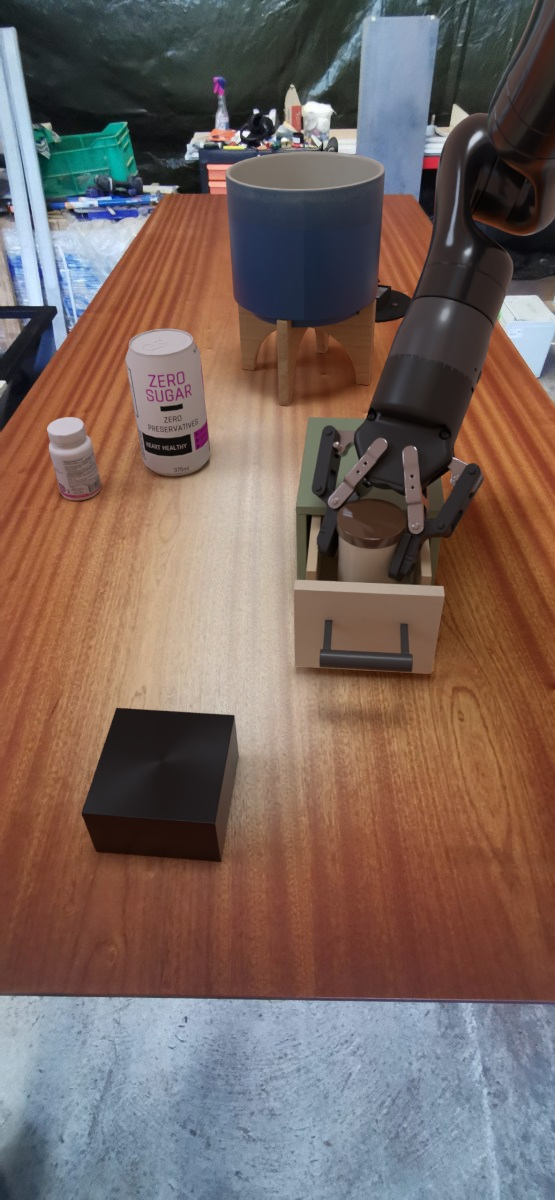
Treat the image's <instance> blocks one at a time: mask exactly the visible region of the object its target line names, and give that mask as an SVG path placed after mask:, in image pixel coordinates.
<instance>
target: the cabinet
mask: <svg viewBox="0 0 555 1200" xmlns="http://www.w3.org/2000/svg"><path fill="white" fill-rule="evenodd" d="M365 419H366V418H364V417H363V418H362V417H361V418H359V417H358V418H357V417H323V416H321V417H318V416H316V417H315V416H308V417H307V424H306V432H305V440H304V444H303V445H304V446H303V453H302V459H301V460H302V461H301V468H300V474H299V480H298V481H299V483H298V488H297V496H296V502H295V503H296V504H295V532H296V534H295V537H296V538H295V539H296V541H295V543H296V545H295V546H296V548H295V549H296V580H306V568H307V559H308V550H309V541H310V532H311V522H312V515H325V514H326V511H327V506H326V504H325V502H324V501H322V500H321V499H320V498H319V497H317V496H316V495H315V494H313V492H312V483H313V477H314V472H315V467H316V462H317V456H318V451H319V446H320V440H321V435H322V430H323V429H324V427H326V426H328V425H332V426H333V427H334V428H335V429H336V430H342V431H356V430H357V428H358V427H359V426H361V425H362V423H363V422H364V421H365ZM358 461H359V460H358V456H357V452H356V449H355V445H354V446H352V447H351V448H350V449H349V451H348V453H347V455H346V456H344V457H341V461H340V467H339V472H338V477H337V483H336V488H335V490H336V489H337V488H338V487H339V486H340V485H341V484H342V483H343V481H344V477H345V476H346V474H347V473H348V472H349V471H350V470H351V469H352V468H353V467H354V465H355V464H356V463H357V462H358ZM428 494H429V519H436V517H437V515H438V514H439V512H440V510H441V508H442V507H443V505H444V503H445V497H444V488H443V479H442V476H441V477H440V478H439V479H437V480H436V481H434V482H433V483H432V484H430V485H429V486H428ZM366 498H374V499H382V500H386V501H389V502H391V503H394V504H396V505H397V506H399V507H400V508H401V509H402V510H403V511H404V513H405V514H406V517H407V518H408V509H407V504H406V498H405V496H403V495H400V494H398V493H397V492H395V491H393V490H382V489H379V488H376V487H374V488H373V489H372V490H371V491H370V492H369V493H368V494H367V495H366V496H364V497H362V498H361V499H366ZM441 542H442V538H441V537H438V538H429V549H430V561H431V572H432V579H431V585H430V586H435V581H436V575H437V568H438V562H439V557H440V556H439V555H440V549H441Z"/></svg>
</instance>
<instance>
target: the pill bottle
mask: <svg viewBox="0 0 555 1200" xmlns="http://www.w3.org/2000/svg"><path fill="white" fill-rule="evenodd" d="M46 431H47V436H48V439H49V444H48V452H49V456H50V459H51V464H52V466H53V470H54V473H55V477H56V481H57V484H58V489H59V492H60V494H61V495H62V497H63V498H64V499H67V500H69V501H85V500H90V499H92V498H94V497H95V496H97V495H98V494H99V493H100V492H101V489H102V481H101V476H100V473H99V469H98V464H97V459H96V455H95V450H94V445H93V442H92V439H91V438H90V437H89V435H87V431H86V427H85V423H84V421H83V420H82V419H81V418H79V417H73V416H65V417H61V418H57V419H55V420H53V421H51V422H50V423H48V425H47V427H46Z"/></svg>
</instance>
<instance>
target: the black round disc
mask: <svg viewBox="0 0 555 1200" xmlns="http://www.w3.org/2000/svg"><path fill="white" fill-rule="evenodd" d="M380 282H381V280H380V278H378V291H377V296H376V298H375V299H376V312H375V323H385V322H391V321H394V320H399V319H403V318H404V316H405V314H406V312H407V310H408V308H409V305H410V303H411V300H412V297H411V296H409V295H408V294H406V293H404V292H401V291H399V290H395V289H392V285H387V284H386V285H385V284H380Z"/></svg>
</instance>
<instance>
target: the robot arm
mask: <svg viewBox="0 0 555 1200" xmlns="http://www.w3.org/2000/svg"><path fill="white" fill-rule="evenodd" d="M438 159H439V160H438V163H437V169H436V177H435V189H434V190H435V191H434V192H435V193H434V206H433V207H434V208H433V222H432V228H431V229H432V230H431V236H430V241H429V244H428V245H429V246H428V250H427V255H426V257H425V261H424V264H423V267H422V270H421V273H420V274H419V275H420V276H419V278H418V281H417V284H416V286H415V289H414V292H413V294H412V297H411V299H412V300H411V303H410V305H409V308H408V310H407V312H406V314H405V316H404V317H402V320H401V322H400V323H399V325H398V328H397V330H396V332H395V335H394V338H393V341H392V343H391V345H390V349H389V352H388V355H387V357H386V359H385V363H384V366H383V368H382V372H381V374H380V376H379V380H378V381H377V385H376V387H375V390H374V393H373V396H372V399H371V401H370V404H369V406H368V410H367V414H366V416H365V418H364V419H365V421H364V422H363V423H362V425H361V426H359V427H358V428H357V430H356V431H342V430H336V429H335V428H334V427H333V426H332V425H328V426H326V427H324V429H323V430H322V435H321V440H320V446H319V451H318V456H317V462H316V467H315V472H314V477H313V483H312V492H313V494H315V495H316V496H317V497H319V498H320V499H321V500H322V501H324V502H325V504H326V506H327V511H326V514H325V517H324V519H323V522H322V525H321V528H320V530H319V533H318V536H317V545H318V546H320V548H319V553H320V554H322V555H324V556H327V557H330V558H333V557H334V556H335V554H336V551H337V548H338V537H339V534H338V532H337V529H336V519H337V514H338V512H339V510H340V509H341V508H342V507H343V506H344V505H346V504H347V503H350V502H352V501H355V500H359V499H361V498H362V497H364V496H366V495H367V494H368V493H369V492H370V491H371V490H372V489H373V488H374V487H376V488H379V489H382V490H393V491H395V492H397V493H398V494H400V495H403V496H405V498H406V504H407V509H408V526H409V529H408V531H407V533H403V536H402V538H401V540H400V543H399V545H398V548H397V551H396V554H395V556H394V559H393V562H392V565H391V567H390V570H389V573H388V577H389V578H391V579H393V580H396V581H399V582H401V581H402V579H403V577H404V576H407V577H409V576H410V575H411V574H412V573H413V571H414V568H415V565H416V563H417V560H418V557H419V554H420V552H421V549H422V546H423V544H424V542H425V541H426V540H427V539H429V538H438V537H441V539H450V538H451V537H452V536H453V535H454V532H455V531H456V529H457V527H458V526H459V524H460V523H461V521H462V519H463V518H464V515H465V513H466V512H467V510H468V508H469V507H470V505H471V504H472V502H473V500H474V498H475V496H476V495H477V493H478V492H479V490H480V488H481V486H482V484H483V483H484V481H485V476H484V473H483V471H482V469H481V467H480V466H479V464H477V463H475V462H471V463H467V462H465V461H463V460H461V459H458V458H457V457H456V455H455V445H456V441H457V439H458V436H459V434H460V432H461V431H460V430H461V428H462V426H463V422H464V420H465V417H466V415H467V411H468V408H469V406H470V404H471V400H472V398H473V395H474V392H475V389H476V388H477V385H478V384H479V382H480V380H481V377H482V374H483V369H484V365H485V362H486V359H487V356H488V352H489V348H490V344H491V338H492V335H493V331H494V328H495V326H496V324H497V321H498V318H499V315H500V313H501V310H502V307H503V305H504V302H505V299H506V297H507V293H508V291H509V289H510V286H511V282H512V279H513V275H514V262H513V260H512V258H511V255H510V254H509V253H508V251H507V250H505V248H504V247H503V246H501V245H500V244H499V243H498V242H497V241H495V240H494V239H493V238H491V237H490V236H488V235H487V234H486V233H485V232H483V231H482V230H481V228H479V227H478V225H477V224H476V223H475V221H477V222H480V223H482V224H485V225H487V226H490V227H493V228H495V229H498V230H500V231H503V232H505V233H508V234H510V235H515V236H520V237H521V236H523V237H524V236H525V237H526V236H530V235H534V234H537V233H539V232H542V231H543V230H544V229H545V228H547V227H548V226H549V225H551V223H553V221H554V220H555V0H535V2H534V5H533V7H532V11H531V13H530V16H529V18H528V21H527V24H526V26H525V27H524V30H523V33H522V35H521V37H520V40H519V42H518V44H517V45H516V48H515V50H514V51H513V54H512V55H511V58H510V60H509V62H508V65H507V66H506V68H505V71H504V73H503V74H502V77H501V79H500V81H499V82H498V85H497V87H496V89H495V92H494V94H493V95H492V98H491V100H490V104H489V107H488V111H487V113H484V112H476V113H473V114H469V115H467V116H466V117H465V118H463V119H462V120H460V121H459V122H458V123H457V124H456V125H455V126H454V127H453V128H452V130H451V131H450V132H449V134H448V136H447V137H446V139H445V141H444V143H443V145H442V148H441V151H440V154H439V158H438ZM354 445H355V449H356V452H357V456H358V460H359V461H358V462H357V463H356V464H355V465H354V467H353V468H352V469H351V470H350V471H349V472H348V473H347V474H346V476H345V477H344V481H343V483H342V484H341V485H340V486H339V487H338V488H337V489H336V490H335V488H336V483H337V477H338V472H339V467H340V461H341V457H344V456H346V455H347V453H348V451H349V449H350V448H351V447H352V446H354ZM449 471H450V472H451V477H450V479H449V483H450V485H451V487H452V489H451V490H450V493H449V494H448V496H447V498H446V500H444V505H443V507H442V508H441V510H440V512H439V514H438V515H437V517H436V519H429V494H428V486H429V485H430V484H432V483H433V482H434V481H436V480H437V479H439V478H440V477H441V478H442V477H443V476H444V475H445V474H447V473H448V472H449Z"/></svg>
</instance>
